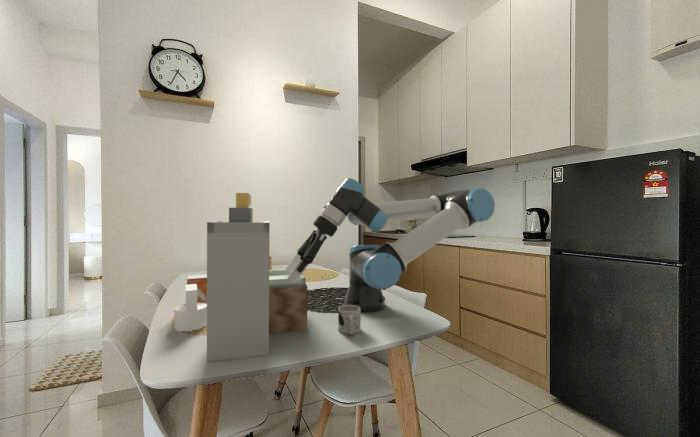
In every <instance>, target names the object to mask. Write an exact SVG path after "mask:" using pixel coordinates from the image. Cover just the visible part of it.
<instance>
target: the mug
mask: <svg viewBox="0 0 700 437" xmlns="http://www.w3.org/2000/svg"><path fill="white" fill-rule="evenodd" d="M337 312H338V315H337V316H338V318H337V320H338V324H337V325H338V326H337V329H338V330H337V331H338V333H340V334H343V335H356V334H359V333H360V332H361V318H362V317H361V314H362V313H361V312H362V311H361V308H360V307H359V306H355V305H345V304H344V305H340V306H339V307H338V311H337Z"/></svg>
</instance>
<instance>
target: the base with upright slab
mask: <svg viewBox="0 0 700 437" xmlns="http://www.w3.org/2000/svg"><path fill="white" fill-rule="evenodd" d="M173 312H174V316H173V317H174V318H173V320H174V322H173V325H174V328H173V330H174V331H175V332H179V333H181V331H190V332H193V331H192V330H196V331H198V330H197V329H199V330H202V329H204V328H206V327H207V304H206V303H197V284H189V285H187V284H185V303H184V304H180V305H177V306H175V308H174V311H173ZM205 326H206V327H205ZM203 327H204V328H203ZM201 328H202V329H201Z"/></svg>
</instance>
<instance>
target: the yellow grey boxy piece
mask: <svg viewBox="0 0 700 437" xmlns="http://www.w3.org/2000/svg"><path fill="white" fill-rule="evenodd" d="M251 206H252V195H251V194H250V193H248V192H236V193H235V207H228V222H254V221H253V220H254V218H253V217H254V216H253V215H254V211H253V210H254V208H252V207H251Z"/></svg>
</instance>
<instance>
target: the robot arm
mask: <svg viewBox="0 0 700 437" xmlns="http://www.w3.org/2000/svg"><path fill="white" fill-rule="evenodd" d="M364 192H365V187H364V186H363V185H362V184H361V183H360V182H359V181H357V180H356V179H354V178H351V177H348V178H347V177H346V178H345V179H344V180H343V182H342V183H340V186H338V187H337V190H336V191H335V192H334V193H333V195H332V196H331V198H330V199H329V201H328V202H327V203H326V204H324V205H323V206H322V208H323V209H322V210H321V212H320V214H319V215H318V216H317V217H316V218H315V220H314V221H313V226H314V227H315V228H317V229H316V230H315V229H314V230H313V231H312V232H311V233H310V235H309V237H307V239H306V240H305V241H304V242H303V244H302V245H301V246H300V247H299V248H298V249H297V253H296V254H295V255H294V256H293V258H292V259H291V261H290V262H289V264H287V267H285V268H284V269H285V270H286V271H287V272H289V273H290V275H289V276H288V279H289V280H291V281H292V282H294V283H296V282H297V280H298V279H299V277H300V276H301V274H302V273H303V274H304V272H305V270H306V269H307V267H308V266H309V265H311V264H312V263H313V262H314V259H315V258H316V256H317V255H318V253H319V251H320V250H321V248H322V246H323V244H324V242H325V241H326V240H327V238H328V237H330V238H332V237H334V235H335V234H336V232H337V231H338V227H341V225H342V223H344V221H345V220H346V218H347V220H348V222H349V223H351V224H352V225H354V226H359V225H360V226H365V227H366V228H368V229H369V230H371V231H372V232H373V233H378V232H380V231H381V230H382V229H383V228H384V227H385V226H386V224H387V223H388V222H398V221H399V222H400V221H408V220H409V221H410V220H417V219H427V220H425V221H424V222H422V223H421V224H419V225H417V226H416V227H415V228H413V229H412V230H410V231H408V232H407V233H406V234H404V235H403V236H401V237H400V238H398V239H396V241H394V242H388V241H386V242H384V243H383V244H381V245H378V244H360V245H352V246H351V247H349V254H348V255H349V268H348V269H349V271H348V272H349V274H348V275H349V277H348V278H349V281H348V282H349V286H348V287H347V288H348V289H347V291H346V293H345V298H344V305H355V306H359V307H360V308H361V312H365V313H366V312H367V313H368V312H375V311H376V310H377V311H380V309H381V310H382V308H383V309H384V308H385V297H384V295H383V292H382V290H387V289H390V288H391V287H392V288H393V286H395V285H396V284H397V283H398V281H399V280H400V277H401V274H403V273H405V272H406V271H407V266H408V264H409V263H411V262H413V261H414V260H416V259H417V258H418V257H420V256H421V255H423V254H424V253H425V252H427V251H428V250H430V249H432V248H433V247H434V246H436V245H437V244H438V243H441V241H443V240H444V239H446V238H448V237H449V236H450V235H451V234H454V233H455V232H456V231H458V230H459V229H460V230H467V229H468V228H470V227H471V226H473V225H475V223H477V222H480V223H481V222H486V221H488V220H490V219H491V218H492V216H493V215H494V212H495V207H496V204H495V203H496V202H495V198H494V196H493V195H492V193H491V192H490V191H489V190H487V189H486V188H481V187H479V188H478V187H474V188H469V189H462V190H461V189H460V190H455V191H454V190H452V191H450V192H446V193H442V194H437V195H431V196H430V197H428V198H420V199H419V198H417V199H410V200H409V199H408V200H396V201H386V202H384V201H383V202H376V203H374V202H372V201H371V200H369V199H368V198H367V197H366V196H365V195H364ZM428 218H429V219H428ZM377 311H376V312H377Z"/></svg>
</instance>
